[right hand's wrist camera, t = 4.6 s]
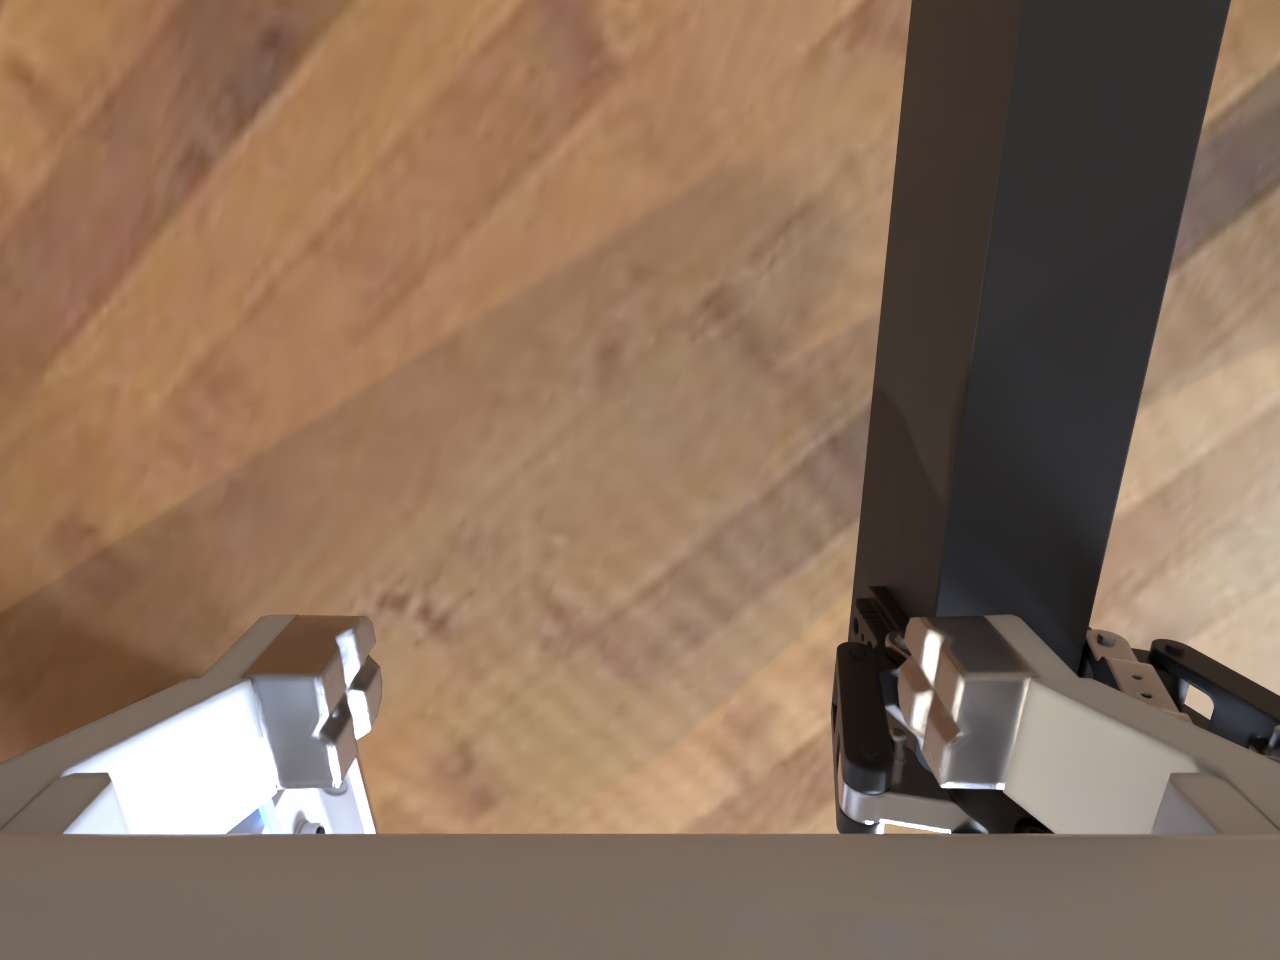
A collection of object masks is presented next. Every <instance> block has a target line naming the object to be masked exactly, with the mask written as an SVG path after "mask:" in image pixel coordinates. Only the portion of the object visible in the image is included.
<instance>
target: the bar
mask: <svg viewBox="0 0 1280 960" xmlns="http://www.w3.org/2000/svg"><path fill="white" fill-rule="evenodd" d="M1230 2H1231V0H912V4H911V14H910V24H909V34H908V44H907V54H906V64H905V75H904V85H903V95H902V105H901V115H900V125H899V135H898V145H897V155H896V165H895V175H894V185H893V195H892V205H891V215H890V225H889V235H888V245H887V255H886V265H885V275H884V285H883V295H882V305H881V315H880V325H879V335H878V345H877V355H876V365H875V375H874V385H873V395H872V405H871V415H870V425H869V435H868V445H867V455H866V465H865V475H864V485H863V495H862V505H861V515H860V525H859V535H858V545H857V555H856V565H855V575H854V585H853V595H852V605H851V615H850V625H849V635H848V642H854V640H853V639H852V630H853V621H854V611H855V603H856V598H864V592H865V588H866V587H867V586H885V587H886V588H887V589H888V591H889V592H890V593H891V595H892V596H893V597H894V599H895V600H896V601H897V603H898V604H899V606H900V607H901V608H902V610H903V611H904V612H905V614H906V615H907V616H908V618H909V619H910V618H913V617H945V616H982V615H1007V614H1011V615H1014V616H1017V617H1019V618H1021V619H1022V620H1023V621H1024V622H1025V623H1026V624H1027V625H1028V626H1029V627H1030V628H1031V629H1032V631H1033V632H1034V633H1035V634H1036V635H1037V636H1038V637H1039V638H1040V639H1041V640H1042V641H1043V642H1044V643H1045V644H1046V645H1047V646H1048V647H1049V648H1050V649H1051V650H1052V651H1053V652H1054V653H1055V654H1056V655H1057V656H1058V657H1059V658H1060V659H1061V660H1062V661H1063V662H1064V663H1065V664H1066V665H1067V666H1068V667H1069V668H1070V669H1071V670H1072V671H1073V672H1074V673H1075V674H1076V675H1077V674H1078V670H1079V666H1080V661H1081V657H1082V652H1083V648H1084V644H1085V639H1086V635H1087V630H1088V626H1089V622H1090V617H1091V613H1092V608H1093V604H1094V600H1095V595H1096V591H1097V587H1098V582H1099V578H1100V573H1101V569H1102V565H1103V560H1104V556H1105V551H1106V547H1107V543H1108V538H1109V534H1110V529H1111V525H1112V521H1113V516H1114V512H1115V507H1116V503H1117V499H1118V494H1119V490H1120V485H1121V481H1122V477H1123V472H1124V468H1125V463H1126V459H1127V455H1128V450H1129V446H1130V441H1131V437H1132V433H1133V428H1134V424H1135V419H1136V415H1137V411H1138V406H1139V402H1140V397H1141V393H1142V389H1143V384H1144V380H1145V375H1146V371H1147V367H1148V362H1149V358H1150V353H1151V349H1152V345H1153V340H1154V336H1155V332H1156V327H1157V323H1158V318H1159V314H1160V310H1161V305H1162V301H1163V296H1164V292H1165V288H1166V283H1167V279H1168V274H1169V270H1170V266H1171V261H1172V257H1173V252H1174V248H1175V244H1176V239H1177V235H1178V230H1179V226H1180V222H1181V217H1182V213H1183V208H1184V204H1185V200H1186V195H1187V191H1188V186H1189V182H1190V178H1191V173H1192V169H1193V164H1194V160H1195V156H1196V151H1197V147H1198V142H1199V138H1200V134H1201V129H1202V125H1203V120H1204V116H1205V112H1206V107H1207V103H1208V98H1209V94H1210V90H1211V85H1212V81H1213V76H1214V72H1215V68H1216V63H1217V59H1218V55H1219V50H1220V46H1221V41H1222V37H1223V33H1224V28H1225V24H1226V19H1227V15H1228V11H1229V6H1230ZM886 715H887V721H888V726H889V729H891V728H899V729H901V730H903V731H904V732H905V733H906V734H907V742H906V746H907V747H908V748H910V749H911V750H912V751H913V752H914V753H915V754H916V756H917V758H918V760H919V762H920V764H921V765H922V766H923V767H924V768H925V769H927V770H928V771H929V772H931V773H933V772H932V770H931V769H930V767H929V765H928V763H927V761H926V759H925V758H924V756H923V754H922V751H921V749H920V744H919V741H918V739H917V737H916V736H915V735H914V734H913V733H912V732H911V731H910V730H908V729H907V728H906V727H905V726H904V725H903V724H902V723H901V722H899V721H898V720H897V719H896V718H895V717H894V716H893V715H891V714H890V713H889V712H888V711H887V710H886Z"/></svg>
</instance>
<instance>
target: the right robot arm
mask: <svg viewBox="0 0 1280 960" xmlns="http://www.w3.org/2000/svg"><path fill="white" fill-rule="evenodd" d="M375 643H376V638H375V633H374V628H373V623H372V622H371V621H370V620H369V618H368V617H367V616H322V615H302V616H300V615H268V616H263V617H261V618H260V619H259V620H258V621H257V622H256V623H255V624H254V625H253V626H252V627H251V628H250V629H249V630H248V631H247V632H246V633H245V634H244V635H243V636H242V637H241V638H240V639H239V640H238V641H237V642H236V643H235V644H234V645H233V646H232V647H231V648H230V649H229V650H228V651H227V652H226V653H225V654H224V655H223V656H222V657H221V658H220V659H219V660H218V661H217V662H216V663H215V664H214V665H213V666H212V667H211V668H210V669H209V670H208V671H207V672H206V673H205V674H204V675H203V676H202V677H201V678H189V679H186V680H184V681H182V682H180V683H178V684H175V685H173V686H171V687H169V688H166V689H164V690H162V691H160V692H158V693H155V694H153V695H151V696H149V697H146V698H144V699H142V700H140V701H138V702H135V703H133V704H131V705H129V706H126V707H124V708H122V709H120V710H118V711H115V712H113V713H111V714H109V715H106V716H104V717H102V718H100V719H98V720H95V721H93V722H91V723H89V724H86V725H84V726H82V727H80V728H78V729H75V730H73V731H71V732H69V733H66V734H64V735H62V736H60V737H57V738H55V739H53V740H51V741H49V742H46V743H44V744H42V745H40V746H37V747H35V748H33V749H31V750H29V751H26V752H24V753H22V754H20V755H17V756H15V757H13V758H11V759H9V760H6V761H4V762H2V763H0V960H1280V763H1278V762H1275V761H1273V760H1271V759H1269V758H1267V757H1264V756H1262V755H1260V754H1258V753H1255V752H1253V751H1251V750H1249V749H1247V748H1244V747H1242V746H1240V745H1238V744H1235V743H1233V742H1231V741H1229V740H1227V739H1224V738H1222V737H1220V736H1218V735H1216V734H1213V733H1211V732H1209V731H1207V730H1204V729H1202V728H1200V727H1198V726H1196V725H1193V724H1191V723H1189V722H1187V721H1184V720H1182V719H1180V718H1178V717H1176V716H1173V715H1171V714H1169V713H1167V712H1165V711H1162V710H1160V709H1158V708H1156V707H1153V706H1151V705H1149V704H1147V703H1145V702H1142V701H1140V700H1138V699H1136V698H1133V697H1131V696H1129V695H1127V694H1125V693H1122V692H1120V691H1118V690H1116V689H1113V688H1111V687H1109V686H1107V685H1105V684H1102V683H1100V682H1098V681H1096V680H1094V679H1091V678H1079V677H1078V676H1077V675H1076V674H1075V673H1074V672H1073V671H1072V670H1071V669H1070V668H1069V667H1068V666H1067V665H1066V664H1065V663H1064V662H1063V661H1062V660H1061V659H1060V658H1059V657H1058V656H1057V655H1056V654H1055V653H1054V652H1053V651H1052V650H1051V649H1050V648H1049V647H1048V646H1047V645H1046V644H1045V643H1044V642H1043V641H1042V640H1041V639H1040V638H1039V637H1038V636H1037V635H1036V634H1035V633H1034V632H1033V631H1032V629H1031V628H1030V627H1029V626H1028V625H1027V624H1026V623H1025V622H1024V621H1023V620H1022V619H1021V618H1019V617H1017V616H1014V615H1011V614H1007V615H982V616H945V617H913V618H910V620H909V623H908V625H907V627H906V632H905V638H904V643H905V644H906V646H907V648H908V649H909V651H910V652H911V654H912V655H911V656H910V657H909V658H908V659H907V660H906V661H905V662H904V663H903V664H902V665H901V666H900V670H899V678H898V696H899V705H900V708H901V712H902V715H903V718H904V720H905V722H906V724H907V726H908V728H909V730H910V731H912V732H913V733H915V734H916V735H918V736H919V737H921V738H922V739H924V742H923V748H922V754H923V756H924V758H925V759H926V761H927V763H928V765H929V767H930V769H931V770H932V772H933V774H934V776H935V778H936V780H937V781H938V783H939V785H940V787H941V788H971V789H1004V790H1003V793H1005V794H1006V795H1007V796H1008V797H1010V798H1011V799H1012V800H1013V801H1015V802H1016V803H1017V804H1018V805H1020V806H1021V807H1022V808H1024V809H1025V810H1026V811H1027V812H1029V813H1030V814H1031V815H1032V816H1034V817H1035V818H1036V819H1037V820H1039V821H1040V822H1041V823H1042V824H1044V825H1045V826H1046V827H1048V828H1049V829H1050V830H1051V831H1053V832H1054V833H1055V834H376V832H375V828H374V824H373V820H372V816H371V813H370V809H369V805H368V801H367V797H366V793H365V789H364V786H363V782H362V778H361V774H360V770H359V766H358V762H357V759H356V756H357V754H358V747H357V742H356V739H358V738H359V737H361V736H362V735H364V734H365V733H367V732H368V731H370V730H371V728H372V726H373V724H374V722H375V720H376V718H377V716H378V712H379V707H380V703H381V699H382V676H381V669H380V666H379V665H378V664H377V663H376V662H375V661H374V660H373V659H372V658H371V657H370V656H369V655H368V654H369V652H370V651H371V649H372V648H373V646H374V644H375Z"/></svg>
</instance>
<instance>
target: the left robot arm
mask: <svg viewBox="0 0 1280 960" xmlns="http://www.w3.org/2000/svg"><path fill="white" fill-rule="evenodd" d="M909 620H910V619H909V618H908V616H907V615H906V614H905V612H904V611H903V610H902V608H901V607H900V606H899V604H898V603H897V601H896V600H895V599H894V597H893V596H892V595H891V593H890V592H889V591H888V589H887V588H886V587H885V586H867V587H866V588H865V592H864V598H856V603H855V611H854V621H853V630H852V639H853V640H854V642H845V643H842V644H840V645H839V646H838V647H837V655H836V664H835V674H834V685H833V695H832V707H831V724H832V744H833V763H834V783H835V803H836V823H837V828H838V831H839V833H840V834H884V830H885V823H891V824H897V825H903V826H909V827H915V828H921V829H927V830H933V831H939V832H945V833H947V834H1055V833H1054V832H1053V831H1051V830H1050V829H1049V828H1048V827H1046V826H1045V825H1044V824H1042V823H1041V822H1040V821H1039V820H1037V819H1036V818H1035V817H1034V816H1032V815H1031V814H1030V813H1029V812H1027V811H1026V810H1025V809H1024V808H1022V807H1021V806H1020V805H1018V804H1017V803H1016V802H1015V801H1013V800H1012V799H1011V798H1010V797H1008V796H1007V795H1006V794H1005V793H1003V790H1004V789H971V788H941V787H940V785H939V783H938V781H937V780H936V778H935V776H934V774H933V773H931V772H929V771H928V770H927V769H925V768H924V767H923V766H922V765H921V764H920V762H919V760H918V758H917V756H916V754H915V753H914V752H913V751H912V750H911V749H910V748H908V747H907V746H906V742H907V734H906V733H905V732H904V731H903V730H901V729H899V728H891V729H889V726H888V721H887V715H886V710H887V711H888V712H889V713H890V714H891V715H893V716H894V717H895V718H896V719H897V720H898V721H899V722H901V723H902V724H903V725H904V726H905V727H906V728H907V729H908V730H909V728H908V726H907V724H906V722H905V720H904V718H903V715H902V712H901V708H900V705H899V696H898V678H899V670H900V666H901V665H902V664H903V663H904V662H905V661H906V660H907V659H908V658H909V657H910V656H911V655H912V654H911V652H910V651H909V649H908V648H907V646H906V644H905V643H904V638H905V632H906V627H907V625H908V623H909ZM1077 676H1078V677H1079V678H1091V679H1094V680H1096V681H1098V682H1100V683H1102V684H1105V685H1107V686H1109V687H1111V688H1113V689H1116V690H1118V691H1120V692H1122V693H1125V694H1127V695H1129V696H1131V697H1133V698H1136V699H1138V700H1140V701H1142V702H1145V703H1147V704H1149V705H1151V706H1153V707H1156V708H1158V709H1160V710H1162V711H1165V712H1167V713H1169V714H1171V715H1173V716H1176V717H1178V718H1180V719H1182V720H1184V721H1187V722H1189V723H1191V724H1193V725H1196V726H1198V727H1200V728H1202V729H1204V730H1207V731H1209V732H1211V733H1213V734H1216V735H1218V736H1220V737H1222V738H1224V739H1227V740H1229V741H1231V742H1233V743H1235V744H1238V745H1240V746H1242V747H1244V748H1247V749H1249V750H1251V751H1253V752H1255V753H1258V754H1260V755H1262V756H1264V757H1267V758H1269V759H1271V760H1273V761H1275V762H1278V763H1280V696H1279V695H1277V694H1275V693H1273V692H1271V691H1270V690H1268V689H1266V688H1264V687H1262V686H1261V685H1259V684H1257V683H1255V682H1253V681H1251V680H1250V679H1248V678H1246V677H1244V676H1242V675H1241V674H1239V673H1237V672H1235V671H1233V670H1231V669H1230V668H1228V667H1226V666H1224V665H1222V664H1221V663H1219V662H1217V661H1215V660H1213V659H1211V658H1210V657H1208V656H1206V655H1204V654H1202V653H1201V652H1199V651H1197V650H1195V649H1193V648H1191V647H1190V646H1188V645H1185V644H1183V643H1180V642H1177V641H1173V640H1168V639H1157V640H1154V641H1153V642H1152V644H1151V648H1150V651H1147V650H1140V649H1134V648H1131V647H1130V645H1129V644H1128V642H1127V641H1126V640H1125V639H1124V638H1123V637H1121V636H1119V635H1117V634H1115V633H1112V632H1109V631H1104V630H1093V629H1091V628H1090V627H1089V626H1088V630H1087V635H1086V639H1085V644H1084V648H1083V652H1082V657H1081V661H1080V666H1079V670H1078V674H1077ZM1189 684H1190V685H1192V686H1194V687H1195V688H1197V689H1199V690H1200V691H1202V692H1204V693H1205V694H1207V695H1208V696H1209V697H1210V698H1211V699H1212V701H1213V704H1214V710H1213V713H1212V716H1211V719H1210V720H1209V719H1207V718H1206V717H1204V716H1203V715H1201V714H1199V713H1198V712H1196V711H1195V710H1193V709H1192V708H1190V707H1188V706H1187V705H1185V704H1184V702H1185V698H1186V695H1187V691H1188V688H1189ZM911 732H912V731H911ZM912 733H913V732H912ZM913 734H914V735H915V736H916V737H917V739H918V741H919V744H920V749H921V751H922V748H923V742H924V739H922V738H921V737H919V736H918V735H916V734H915V733H913Z"/></svg>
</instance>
